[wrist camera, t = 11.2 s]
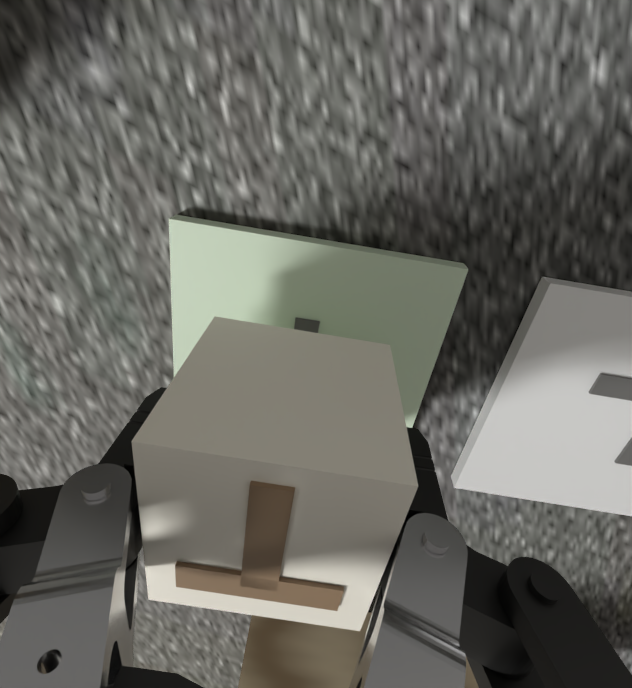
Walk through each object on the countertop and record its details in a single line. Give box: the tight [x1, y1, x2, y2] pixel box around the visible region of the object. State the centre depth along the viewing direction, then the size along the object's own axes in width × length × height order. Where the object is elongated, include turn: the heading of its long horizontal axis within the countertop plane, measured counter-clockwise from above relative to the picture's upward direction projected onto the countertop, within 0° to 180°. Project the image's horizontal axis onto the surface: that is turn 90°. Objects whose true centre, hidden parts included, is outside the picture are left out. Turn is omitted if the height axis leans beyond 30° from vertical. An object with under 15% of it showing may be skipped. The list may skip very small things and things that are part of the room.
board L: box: [451, 276, 632, 516], centre depth 14 cm, size 9×9×1 cm
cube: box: [131, 316, 418, 631], centre depth 10 cm, size 5×5×5 cm
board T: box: [169, 215, 469, 428], centre depth 14 cm, size 9×9×1 cm
